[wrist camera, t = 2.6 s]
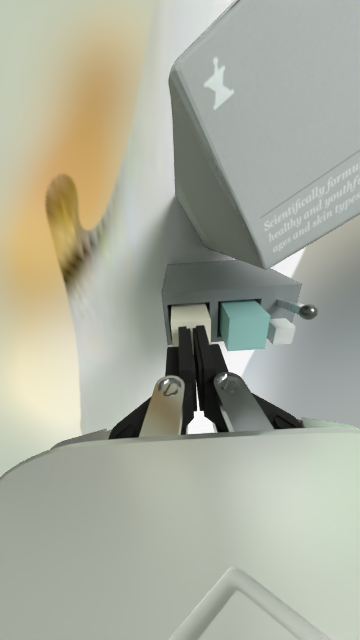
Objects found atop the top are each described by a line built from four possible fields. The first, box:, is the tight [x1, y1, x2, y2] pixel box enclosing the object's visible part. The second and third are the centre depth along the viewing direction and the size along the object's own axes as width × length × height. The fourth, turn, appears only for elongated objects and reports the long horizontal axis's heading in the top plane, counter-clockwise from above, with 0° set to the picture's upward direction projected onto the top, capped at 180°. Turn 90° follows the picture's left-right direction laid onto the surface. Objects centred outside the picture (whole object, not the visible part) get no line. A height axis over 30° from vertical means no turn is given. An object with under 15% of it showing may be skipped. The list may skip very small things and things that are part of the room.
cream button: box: [171, 302, 211, 353], centre depth 14 cm, size 3×3×3 cm
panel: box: [162, 260, 302, 345], centre depth 19 cm, size 4×10×10 cm, turn 94°
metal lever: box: [276, 299, 318, 320], centre depth 12 cm, size 1×1×4 cm
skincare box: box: [169, 0, 360, 270], centre depth 12 cm, size 8×7×16 cm
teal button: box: [218, 299, 271, 351], centre depth 14 cm, size 3×3×3 cm
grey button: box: [267, 318, 296, 344], centre depth 14 cm, size 1×1×1 cm
